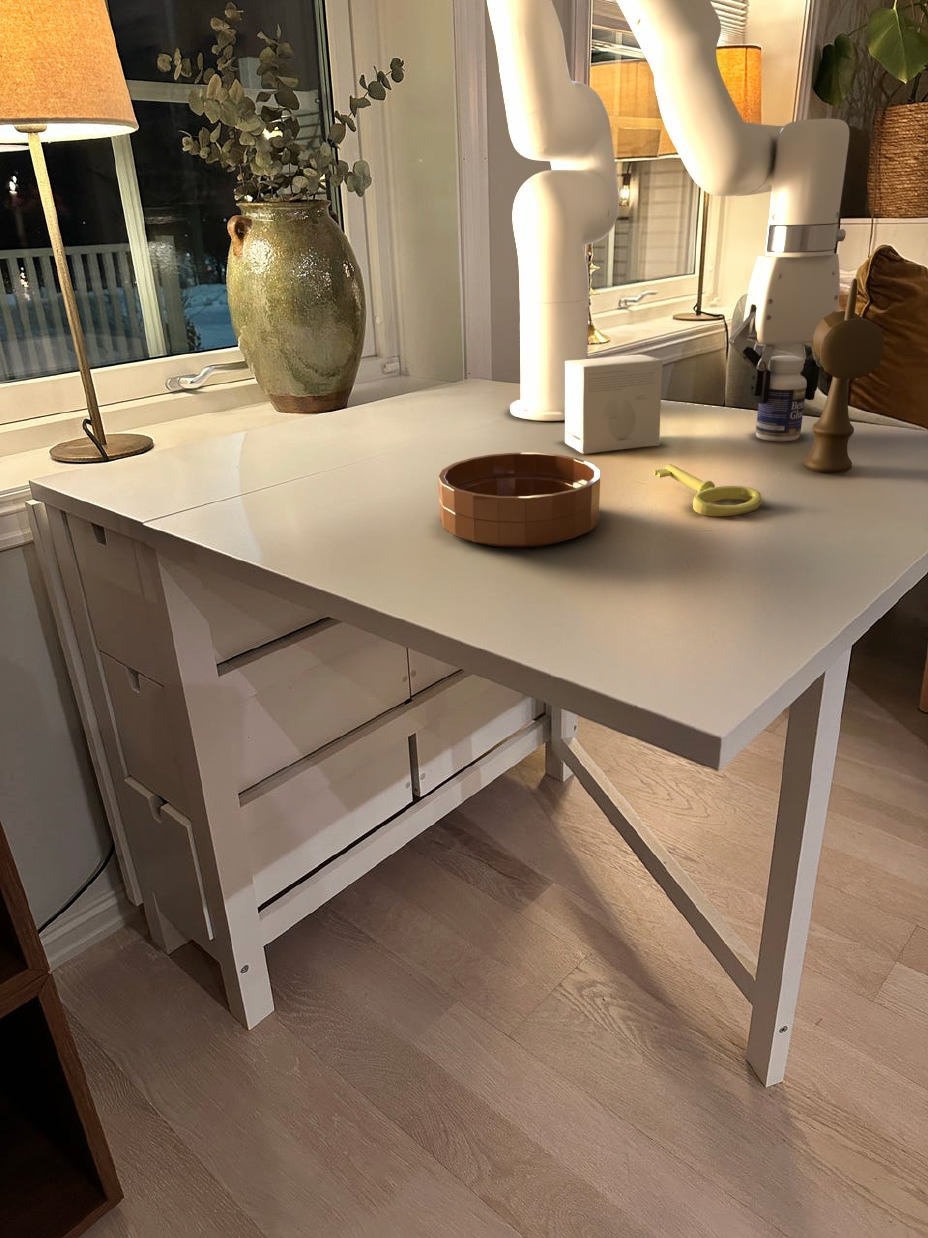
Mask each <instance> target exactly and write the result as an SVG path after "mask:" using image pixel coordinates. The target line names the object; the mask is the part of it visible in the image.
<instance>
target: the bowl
mask: <svg viewBox="0 0 928 1238" xmlns="http://www.w3.org/2000/svg"><path fill="white" fill-rule="evenodd" d="M437 481H438V482H437V483H438V501H439V504H438V505H439V521H440V523H441V525H442V527H443V529H444V530H446V531H447V532H448V533H450V534H452V535H454V536H455V537H458V538H461V539H464V540H467V541H470V542H473V543H477V544H480V545H486V546H491V547H500V548H534V547H543V546H549V545H555V544H559V543H563V542H566V541H569V540H571V539H575V538H577V537H580V536H582V535H584V534H586V533H588V532H591V531H592V530H593V529H594V528H595V527H596V526H597V525H598V524H599V523H600V497H601V495H600V494H601V470H600V469H599V468H598V467H597V466H596V465H594V464H593V463H591V462H588V461H586V460H584V459H580V458H578V457H574V456H568V455H563V454H556V453H555V454H554V453H545V452H544V453H543V452H505V453H504V452H503V453H493V454H491V453H490V454H485V455H481V456H475V457H470V458H466V459H463V460H460V461H456V462H455V463H454V462H453V463H451V464H450V465H448V466H446V467H444V468H443V469H442V470H441V471H440V473H439V475H438V476H437Z"/></svg>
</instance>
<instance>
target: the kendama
mask: <svg viewBox="0 0 928 1238" xmlns="http://www.w3.org/2000/svg"><path fill="white" fill-rule="evenodd" d="M858 284H859V283H858V279H857V278H853V279H852V280H851V281H850V286H849V290H848V295H847V299H846V300H847V301H846V306H845V310H838V312H833V313H831V314H829V315H827V316H826V317H824V318H822V320H821V321H820V322H819V324H818V325H817V326H816V329H815V332H814V336H813V348H814V350H815V352H816V354H817V356H818V357H819V358H820V362H821V364H822V366H821V367H822V368H823V370H824V372H826V373H827V374H828V375H830V376H832V378H831V383H830V387H829V390H828V394H827V397H826V401H825V404H824V406H823V409H822V412H821V414H820V416H819V418H818V420H817V421H816V422H815V423H813V424H812V426H811V427H812V428H811V431H812V432H813V434H814V441H813V446H812V449H811V451H810V453H809V454H808V455H807V456H806V457H805V458H804V461H803V465H804V467H805V468H806V469H808V470H810V471H813V472H816V473H820V474H841V473H845V472H848V471H850V470H851V469H852V468H853V461H852V460H851V458H850V456H849V452H848V449H849V440H850V437H851V436H852V435H853V434H854V433H855V427H854V425H852V423H851V421H850V415H849V380H856V379H861V378H863V377H865V376H867V375H869V374H871V373H872V372H873V371H874V370H875V369H876V367H877V366H879V364H880V362H881V360H882V357H883V354H884V351H885V337H884V335H883V333H882V330H881V328H880V326H879V325H877V324H875V323H874V322H873V321H871V320H869V319H864V317H863V316H861V315H859V314H857V313H856V305H857V297H858Z"/></svg>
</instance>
